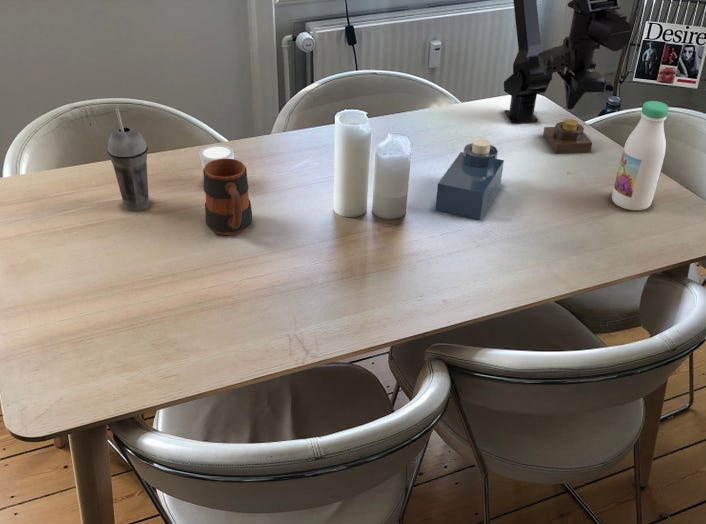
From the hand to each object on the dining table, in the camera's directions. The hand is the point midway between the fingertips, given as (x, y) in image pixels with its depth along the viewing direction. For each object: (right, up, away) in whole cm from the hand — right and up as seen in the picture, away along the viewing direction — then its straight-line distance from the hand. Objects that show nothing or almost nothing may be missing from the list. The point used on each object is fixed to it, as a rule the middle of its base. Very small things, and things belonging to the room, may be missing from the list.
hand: (569, 108), depth 180 cm
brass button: (+1, -3, +3) cm, 5 cm away
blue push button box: (-24, -22, -14) cm, 36 cm away
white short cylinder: (-22, -13, -15) cm, 30 cm away
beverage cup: (-89, -25, -19) cm, 94 cm away
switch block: (+1, -6, +6) cm, 8 cm away
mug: (-69, -30, -25) cm, 80 cm away
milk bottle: (+8, -23, -14) cm, 28 cm away
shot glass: (-74, -19, -12) cm, 77 cm away
